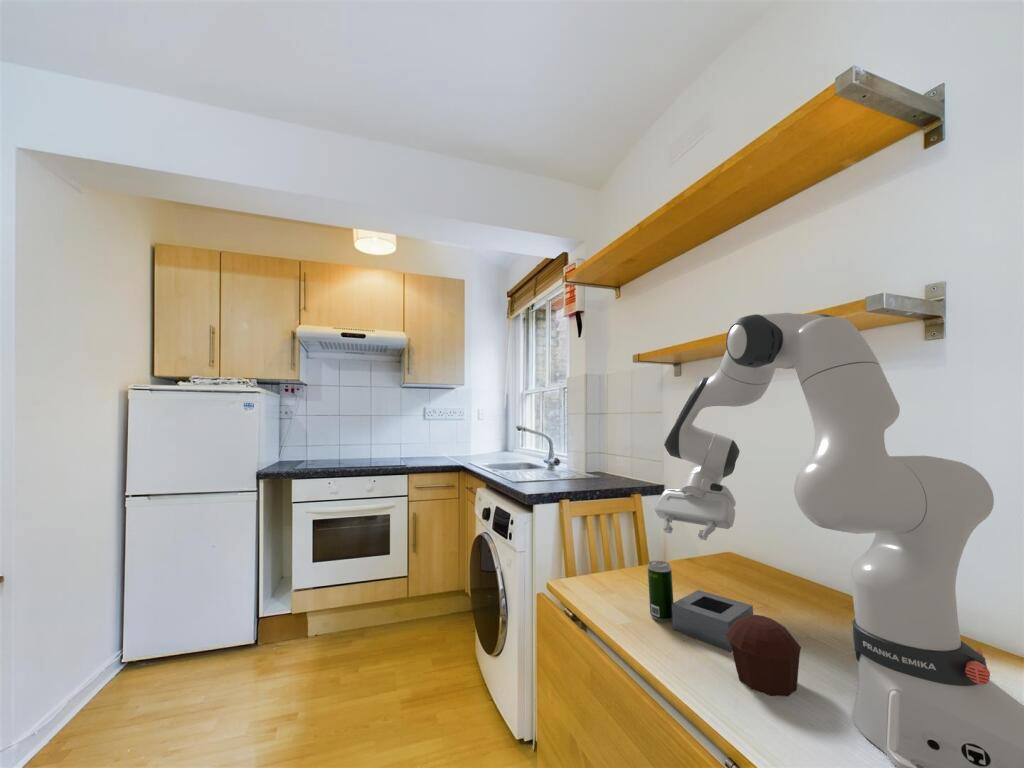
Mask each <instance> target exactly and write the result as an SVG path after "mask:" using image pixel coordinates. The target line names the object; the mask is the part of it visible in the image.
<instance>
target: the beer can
mask: <svg viewBox="0 0 1024 768" xmlns="http://www.w3.org/2000/svg"><path fill="white" fill-rule="evenodd" d="M672 570H673V569H672V567H671V564H670V563H669V562H668V561H667V562H666V561H663V560H651V561H649V562H648V566H647V578H648V595H649V596H648V599H649V614H650V617H651V618H652V619H653V620H655V621H656V622H657V621H658V622H661V623H668V622H673V617H672V603H674V587H673V574H672V573H673V572H672Z"/></svg>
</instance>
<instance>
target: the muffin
mask: <svg viewBox="0 0 1024 768" xmlns="http://www.w3.org/2000/svg"><path fill="white" fill-rule="evenodd" d="M726 636H727V638H728V640H729V642H730V643H731V648H732V651H731V653H732V656H733V660H734V665H735V669H736V672H737V675H738V676H737V678H738V680H739V681H740V682H741V683H742V684H744V685H746V686H747V687H748V688H749V689H751V691H755V692H759V693H762V694H764V695H766V696H767V695H768V696H770V697H790V696H791V695H792V694H793V693H795V692H796V690H797V688H798V679H799V678H798V677H799V665H800V654H801V650H802V647H801V645H800V644H799V643H798V641H797V640H796V638H794V637H793V636H792V634H791V632H790V631H789V630H788V629H787V628H786V627H785V626H784V625H783V624H781V623H779V622H777V621H776V620H775V619H773V618H770V617H769V616H764V615H759V614H753V615H748V616H745V617H742V618H740V619H738V620H736V621H735V622H734V624H733V625H732V626H731V627H730V629H729V630H728V631H727V633H726Z"/></svg>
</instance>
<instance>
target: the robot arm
mask: <svg viewBox="0 0 1024 768" xmlns="http://www.w3.org/2000/svg"><path fill="white" fill-rule="evenodd" d="M725 342H726V344H725V345H726V346H725V347H726V350H725V353H724V354H723V357H722V358H721V359H722V360H721V362H720V365H719V368H718V369H717V370H716V372H715V373H714V374H712V375H711V376H707V377H703V378H701V380H700V381H698V383H697V385H696V386H695V387H694V389H693V390H692V392H691V394H689V395H690V396H689V397H688V399H687V401H686V403H685V404H684V406H683V407H682V409H681V411H680V413H679V415H678V416H677V418H676V420H675V422H674V423H673V424H672V425H671V426H670V427H669V429H668V431H667V432H666V435H665V436H664V444H663V446H664V448H665V450H666V451H667V453H668V454H669V455H670V456H671V457H674V458H676V459H681V460H684V461H687V462H690V463H691V465H690V471H689V472H688V473H687V475H686V478H685V480H684V482H683V484H682V488H681V489H674V488H668V489H666V490H664V491H663V492H662V493H661V495H660V497H659V499H658V500H657V501H656V504H655V505H654V508H653V509H654V511H655V514H656V515H657V516H658V518H660V519H663V520H664V526H663V532H665V533H666V534H672V533H673V530H674V528H673V527H672V525H671V524H672V523H673V521H676V522H682V523H687V524H694V525H700V526H704V527H705V528H703V529H699V532H698V534H697V535H698V536H697V537H698V538H699V540H703V541H707V540H708V537H709V536H710V535H711V534H712V533H713V532H715V531H716V528H719V529H724V530H725V529H726V530H729V529H730V528H733V526H734V522H735V518H736V517H735V516H736V508H735V507H736V503H737V502H736V500H735V497H734V495H733V494H732V492H731V491H730V490H729V488H728V487H727V486H726V485H724V484H721V482H722V481H723V480H724V478H726V477H728V476H730V475H732V474H733V472H734V470H735V468H736V464H737V463H736V462H737V460H738V458H739V455H740V451H741V450H739V447H738V444H737V443H736V442H735V440H734V439H731V438H729V437H726V436H723V435H721V434H717V433H714V432H711V431H709V430H706V429H704V428H699V427H698V426H695V425H694V424H693V423H694V421H695V420H696V418H697V417H698V415H699V414H700V412H701V411H702V410H703V409H705V408H710V407H732V408H734V407H735V408H736V407H737V408H738V407H743V406H748V405H751V404H753V403H755V402H757V401H759V400H760V399H761V398H762V397H763V395H764V394H765V393H766V392H767V390H768V387H769V386H770V384H771V381H772V379H773V377H774V374H775V372H776V369H784V370H789V369H790V370H791V369H794V370H795V371H796V374H797V378H798V381H799V384H800V387H801V389H802V393H803V395H804V397H805V401H806V403H807V407H808V410H809V413H810V416H811V418H812V419H811V420H812V422H813V423H812V424H813V426H814V427H813V428H814V446H813V450H812V453H811V455H810V458H809V460H808V461H807V462H806V464H805V465H804V466H803V467H802V468H801V469H800V470H799V471H798V473H797V475H796V477H795V481H794V485H793V487H794V489H793V490H794V492H793V493H794V498H795V501H796V503H797V505H798V507H799V509H800V511H801V512H802V514H803V515H804V516H805V517H806V518H807V519H808V520H809V521H810V522H811V523H812V524H814V525H815V526H817V527H819V528H823V529H827V530H833V531H836V532H842V533H850V534H859V535H860V534H861V535H862V534H875V535H874V538H873V540H872V543H871V545H870V546H869V548H868V549H867V550H866V551H865V552H864V553H863V554H861V556H860V557H858V558H857V559H856V560H855V561H854V562H853V564H852V565H851V568H850V574H849V575H850V583H851V584H850V585H851V590H852V592H851V593H852V602H853V603H852V604H853V611H854V619H853V620H852V621H851V623H852V624H851V625H852V626H851V635H852V644H853V651H854V652H855V659H856V661H857V662H858V663H857V665H858V666H857V670H858V671H857V673H858V674H857V689H856V690H857V691H856V697H855V702H854V705H853V710H852V713H851V718H852V721H853V723H854V725H855V727H856V728H857V729H858V730H859V732H860V733H861V734H862V735H863V736H864V737H865V738H866V739H867V740H868V741H870V742H871V743H873V745H875V746H876V747H878V748H879V749H880V750H881V751H883V753H884V754H885V755H886V757H887V758H888V759H889V760H890V761H891V763H892V764H893V765H894V766H895V767H896V768H1024V704H1022V703H1021V702H1020V701H1018V699H1015V698H1014V697H1013V696H1012V695H1010V694H1009V693H1008V692H1006V691H1005V690H1004V689H1002V688H1001V687H1000V686H998V685H997V684H996V683H995V682H993V681H992V680H991V679H990V678H991V672H990V670H989V668H988V666H987V661H986V658H985V656H983V655H984V653H983V651H982V650H981V648H980V647H976V648H977V649H976V650H975V649H974V648H973V647H971V646H970V645H968V644H966V643H965V642H964V641H962V640H961V633H960V632H961V631H960V624H959V615H958V605H957V603H958V602H957V596H956V595H957V594H956V583H957V576H958V575H957V574H958V570H959V565H960V561H961V558H962V555H963V552H964V550H965V547H966V544H967V542H968V541H969V540H968V539H969V538H970V537H971V534H973V532H974V530H975V529H976V528H977V527H978V526H979V525H980V524H981V523H983V522H984V521H985V520H986V519H987V518H988V517H989V516H990V515H991V513H992V511H993V509H994V505H995V504H994V503H995V501H994V500H995V499H994V492H993V490H992V487H991V485H990V484H989V482H988V480H987V479H986V478H985V477H984V475H983V474H982V473H980V472H979V471H978V470H977V469H976V468H974V467H972V466H971V465H969V464H966V463H964V462H961V461H957V460H952V459H948V458H942V457H937V456H931V455H930V456H929V455H893V456H890V455H889V454H888V451H887V449H886V444H885V433H886V430H887V429H889V428H890V426H892V425H893V424H894V423H895V422H896V421H897V419H898V418H899V416H900V412H901V409H900V408H901V407H900V405H899V402H898V400H897V398H896V396H895V393H894V392H893V389H892V388H891V386H890V383H889V381H888V379H887V377H886V375H885V373H884V371H883V368H882V367H881V363H880V362H879V361H878V359H877V357H876V355H875V354H874V352H873V350H872V348H871V346H870V345H869V343H868V341H867V340H866V338H865V337H864V336H863V335H862V334H861V332H860V331H859V329H857V328H856V326H855V325H854V324H853V323H852V322H851V321H849V320H848V319H846V318H844V317H839V316H834V315H831V314H825V313H819V314H818V313H817V314H809V313H792V312H777V313H767V314H750V315H746V316H742V317H739V318H737V319H736V320H735V321H734V322H733V323H732V324H731V326H730V327H729V329H728V331H727V334H726V341H725Z"/></svg>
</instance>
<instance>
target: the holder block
mask: <svg viewBox="0 0 1024 768" xmlns="http://www.w3.org/2000/svg"><path fill="white" fill-rule="evenodd" d="M748 615H754V607H753V604H750V603H746V602H742V601H739V600H735V599H731V598H727V597H725V596H721V595H718V594H714V593H711V592H707V591H703V590H701V589H698V590H695V591H693V592H692V593H690V594H687V595H686V596H684V597H682V598H679V600H676V601H675V602H674V603H672V617H673V620H672V629H673V631H674V632H676V633H679V634H682V635H683V636H684V635H685V636H687V637H690V638H693V639H695V640H698V641H700V642H703V643H705V644H708V645H711V646H713V647H715V648H719V649H721V650H723V651H726V652H728V653H732V648H731V643H730V642H729V640H728V638H727V636H726V633H727V631H728V630H729V629H730V627H731V626H732V625H733V624H734V622H735V621H736V620H738V619H740V618H742V617H745V616H748Z"/></svg>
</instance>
